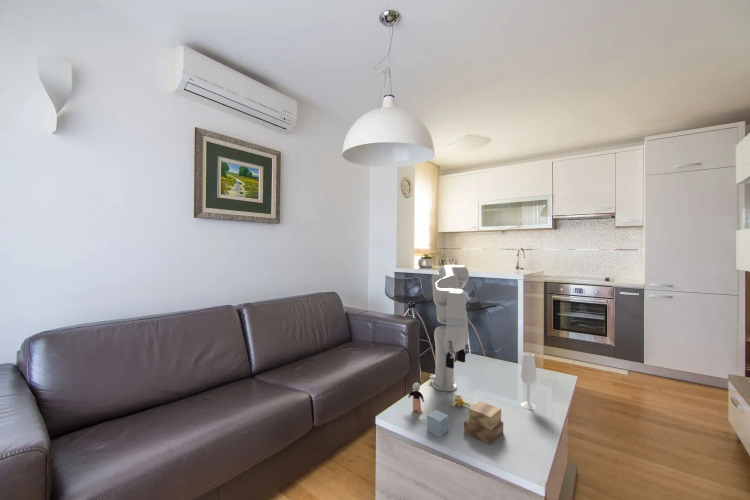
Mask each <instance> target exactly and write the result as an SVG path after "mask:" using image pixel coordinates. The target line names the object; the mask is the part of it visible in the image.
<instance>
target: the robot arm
mask: <svg viewBox="0 0 750 500" xmlns="http://www.w3.org/2000/svg"><path fill="white" fill-rule="evenodd" d="M469 273H470V272H469V270H468V268H467V266H465V265H463V264H461V265H460V264H459V265H457V264H445V265H442V266H440V268H439V270H438V272H436V273H433V274H432V275H431V286H432V299H433V303H434V304H435V305H436V307H435V309H436V320H437V322H438V323H440V324H445V325H443V326H437V327H435V329H434V331H433V337H434V345H435V373H434V374H433V373H430V375H429V379H430V380H433V381H432V383H431V384H432V388H434V389H436V390H438V391H441V392H453V391H456V389H458V388H457V386H458V385H457V383H455V376H454V375H455V353H457V362H461V363H465V362H466V352H467V349H466V348H467V345H468V343H469V325H468V324H469V323H468V321H469V319H468V313H467V308H466V307H467V306H466V304H467V303H468V293H467V292H466V291H465V290H464V289H463V288H465V287H466V285H467V283H468V280H469V276H470V274H469Z"/></svg>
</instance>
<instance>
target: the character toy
mask: <svg viewBox="0 0 750 500" xmlns="http://www.w3.org/2000/svg"><path fill="white" fill-rule="evenodd" d="M463 405H465V406H468V407H469V408H470V407H471V404H469V403H468V402H465V401H464V400H463V398H462V395H458V394H457V395H454V402H453V403H452V406H453V407H455V406H458V407H459V408H461V406H463Z"/></svg>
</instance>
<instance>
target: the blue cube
mask: <svg viewBox="0 0 750 500" xmlns="http://www.w3.org/2000/svg"><path fill="white" fill-rule="evenodd" d="M426 418H427V419H426V420H427V421H426V424H427V425H426V426H427V427H426V430H428V432H430V433H432V434H434V433H435V434H434V435H436V434H437V436H438V437H442V436H443V435H444V434H446V433H447V432H449V415H448V414H446V413H444V412H441V411H438V410H436V409H435V410H433V411H432V412H431V413H429V414H428V415H427V416H426ZM441 435H442V436H441Z"/></svg>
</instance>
